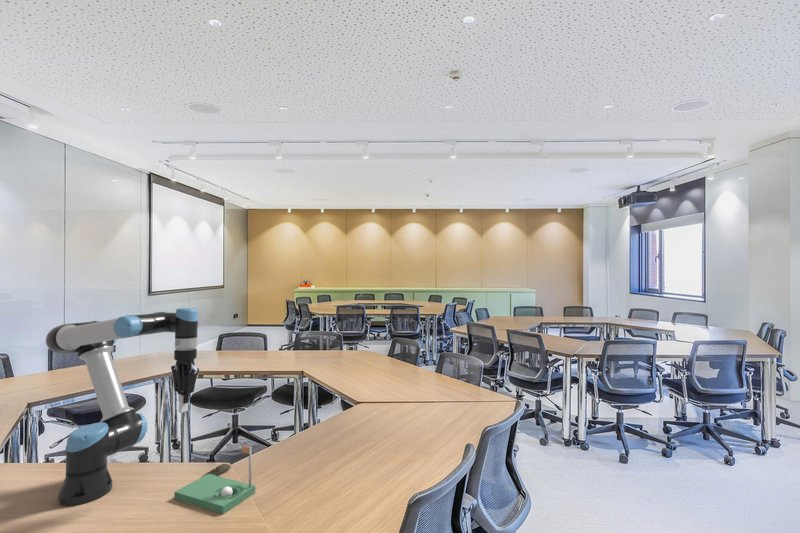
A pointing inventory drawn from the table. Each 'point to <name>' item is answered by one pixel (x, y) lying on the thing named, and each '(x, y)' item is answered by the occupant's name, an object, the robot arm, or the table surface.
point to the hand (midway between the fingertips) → (183, 411)
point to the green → (216, 491)
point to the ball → (226, 492)
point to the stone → (219, 470)
